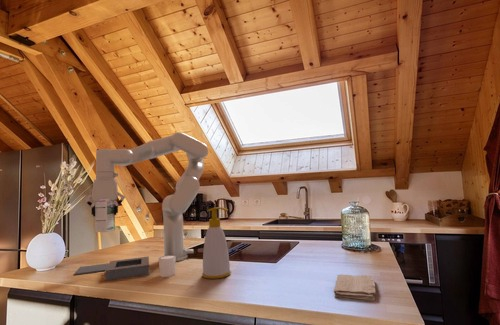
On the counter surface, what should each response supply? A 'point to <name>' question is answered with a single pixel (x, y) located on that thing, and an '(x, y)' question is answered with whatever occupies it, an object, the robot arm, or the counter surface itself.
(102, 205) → the syrup box
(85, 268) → the rubber mat
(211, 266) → the soap bottle
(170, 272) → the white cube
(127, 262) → the socket block
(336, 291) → the washcloth
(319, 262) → the counter surface
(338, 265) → the counter surface
